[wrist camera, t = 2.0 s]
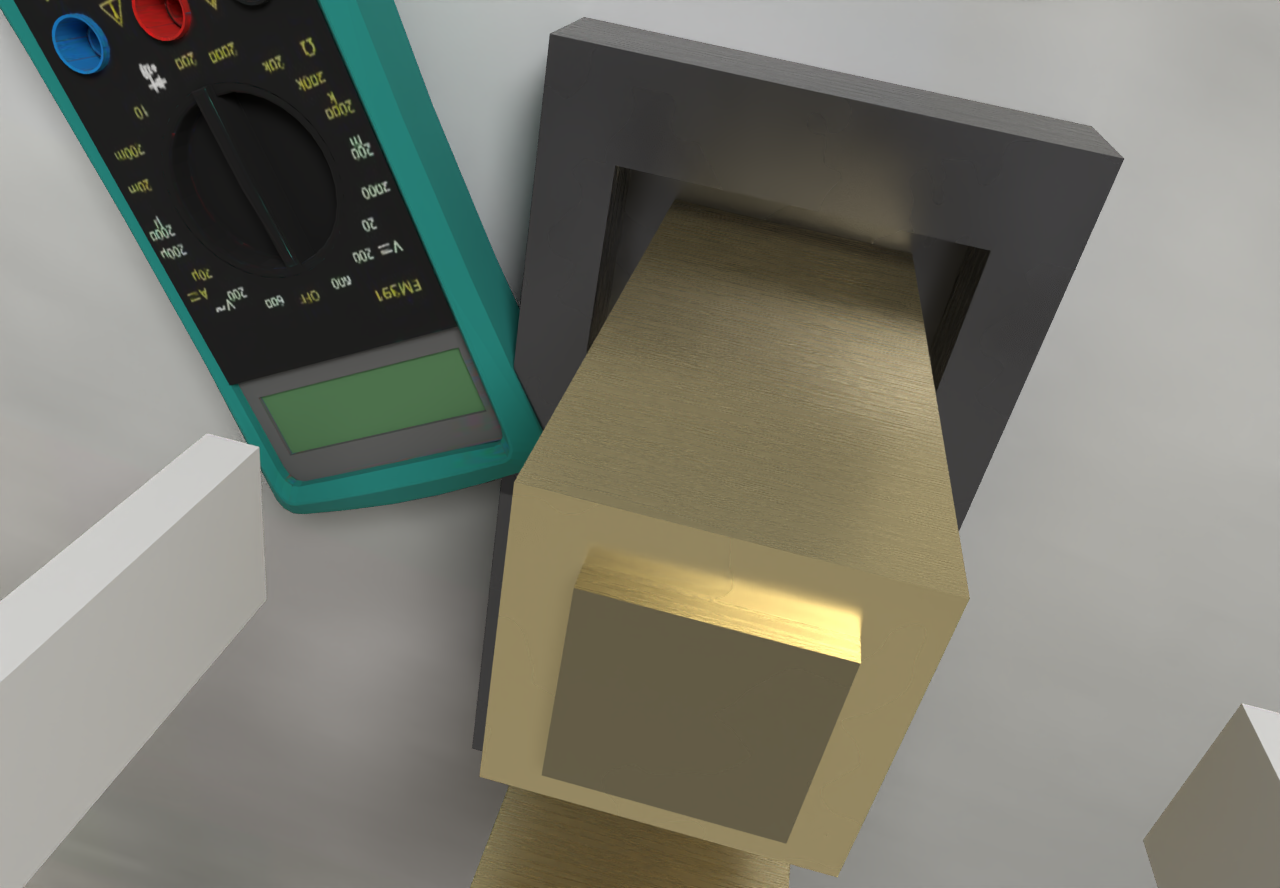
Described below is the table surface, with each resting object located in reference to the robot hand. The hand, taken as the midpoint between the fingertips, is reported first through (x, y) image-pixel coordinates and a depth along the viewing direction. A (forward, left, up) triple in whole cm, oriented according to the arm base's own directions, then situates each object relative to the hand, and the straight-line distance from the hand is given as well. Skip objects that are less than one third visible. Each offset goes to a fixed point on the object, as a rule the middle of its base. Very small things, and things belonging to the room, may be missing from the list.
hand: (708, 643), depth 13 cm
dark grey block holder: (+4, 0, -10) cm, 11 cm away
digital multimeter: (-2, -11, -10) cm, 15 cm away
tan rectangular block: (0, 0, -10) cm, 10 cm away
